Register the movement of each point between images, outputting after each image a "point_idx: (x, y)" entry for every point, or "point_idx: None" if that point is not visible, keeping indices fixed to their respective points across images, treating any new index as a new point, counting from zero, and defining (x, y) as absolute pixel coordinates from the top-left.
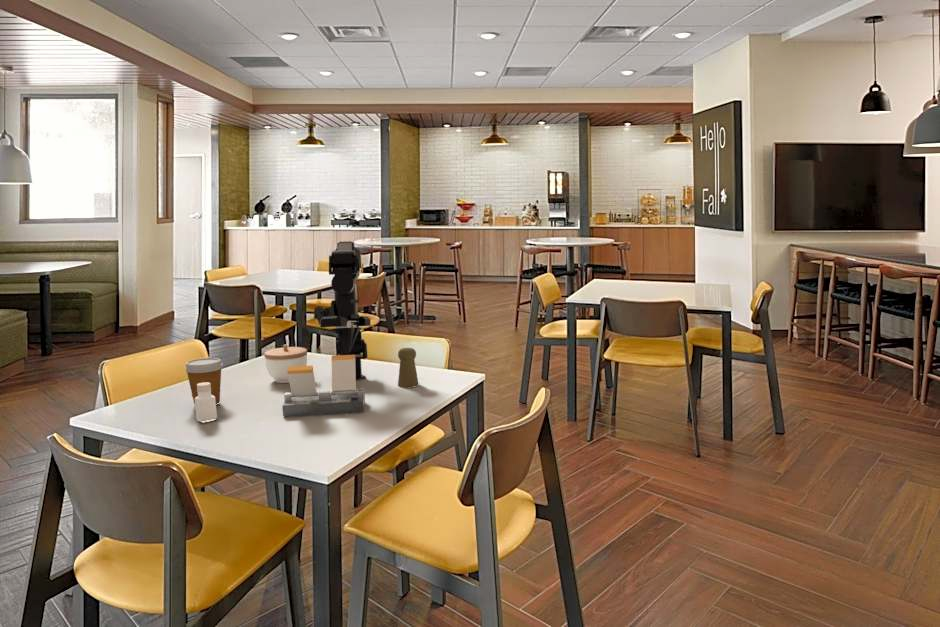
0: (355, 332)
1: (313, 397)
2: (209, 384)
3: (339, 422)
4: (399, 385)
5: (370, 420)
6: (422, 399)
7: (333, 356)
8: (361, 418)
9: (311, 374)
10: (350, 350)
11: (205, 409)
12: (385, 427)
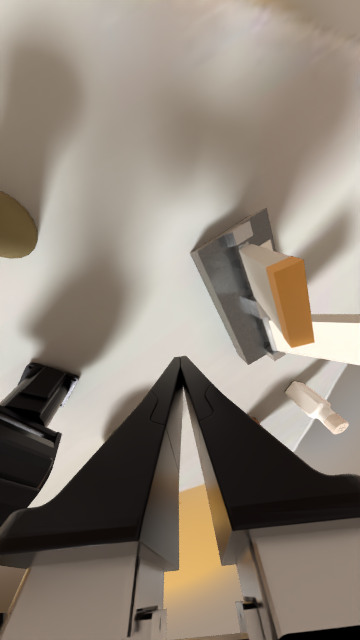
0: (162, 448)
1: (252, 325)
2: (343, 422)
3: (300, 231)
4: (32, 242)
5: (290, 169)
6: (106, 86)
7: (311, 335)
8: (279, 199)
9: (357, 317)
10: (176, 360)
11: (316, 393)
12: (332, 99)
